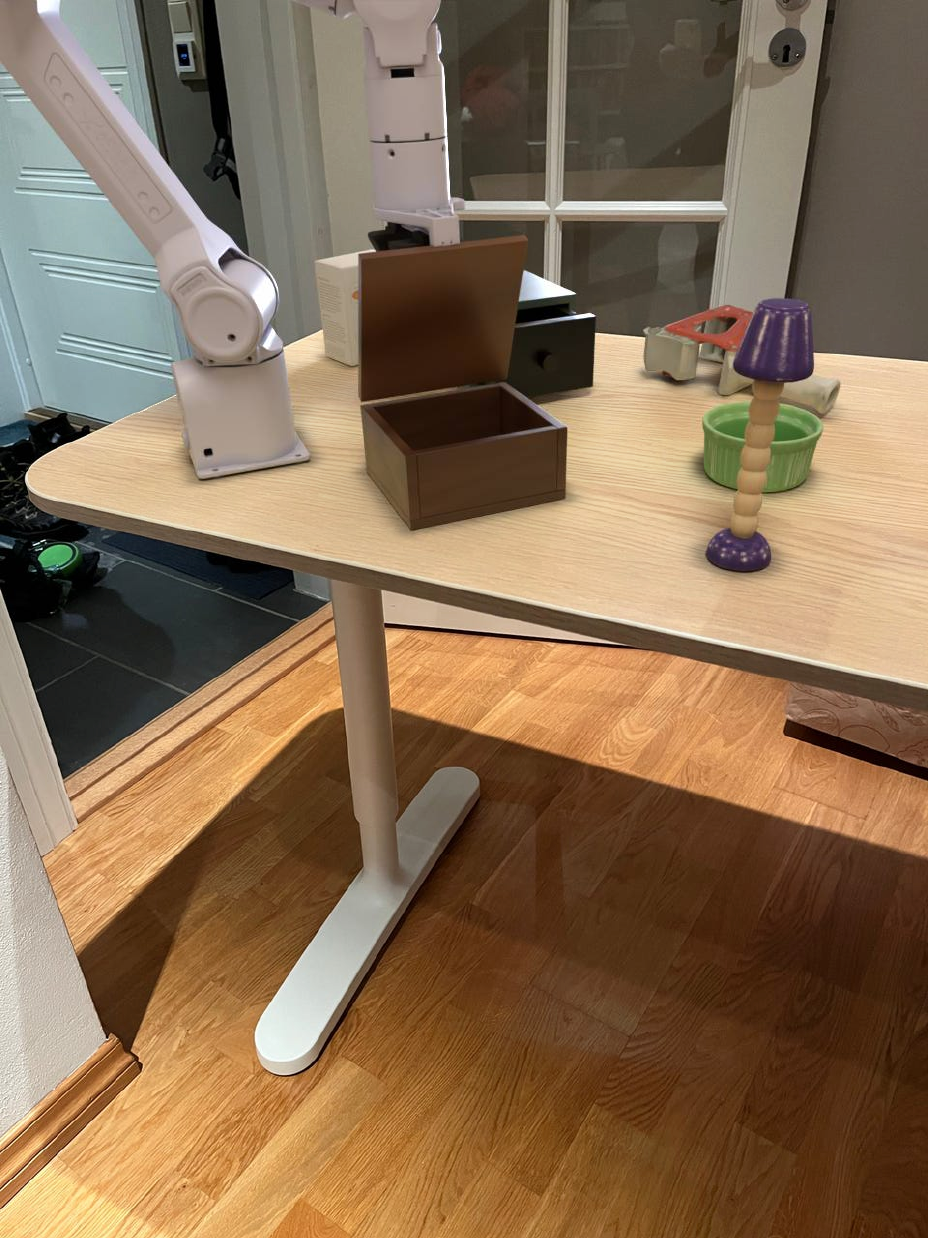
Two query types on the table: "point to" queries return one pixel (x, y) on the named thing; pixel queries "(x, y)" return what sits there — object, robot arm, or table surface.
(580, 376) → the drawer
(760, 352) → the toy lamp
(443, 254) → the box lid
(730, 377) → the tape dispenser
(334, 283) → the small box
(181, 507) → the table surface
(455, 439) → the box
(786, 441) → the ramekin
